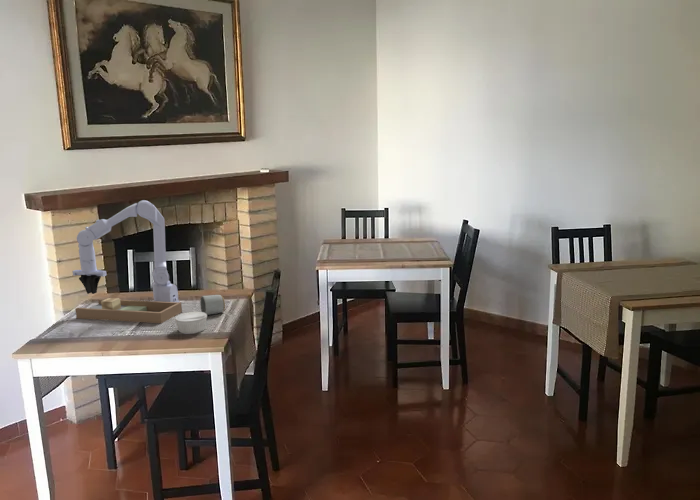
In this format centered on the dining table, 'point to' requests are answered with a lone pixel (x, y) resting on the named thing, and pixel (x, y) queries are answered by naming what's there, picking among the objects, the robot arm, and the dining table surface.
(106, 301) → the wood block
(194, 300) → the dining table surface
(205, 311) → the ceramic mug
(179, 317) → the ramekin
